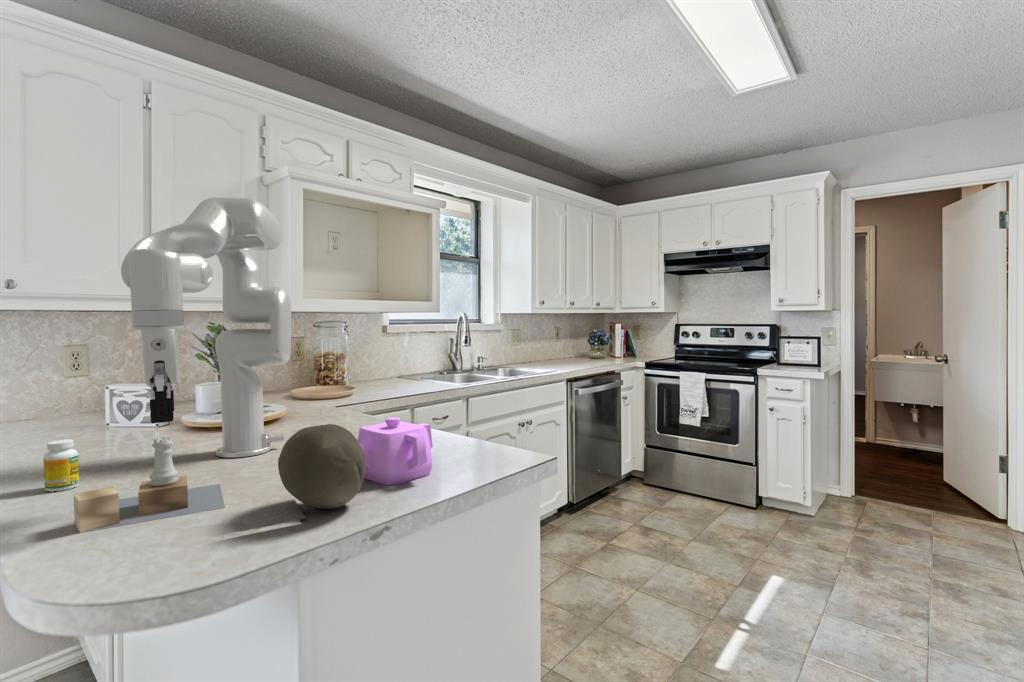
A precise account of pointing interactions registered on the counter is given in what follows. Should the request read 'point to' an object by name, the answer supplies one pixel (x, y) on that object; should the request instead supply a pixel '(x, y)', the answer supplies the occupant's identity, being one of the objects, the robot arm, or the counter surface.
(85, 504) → the oak block
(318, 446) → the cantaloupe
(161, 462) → the rook chess piece
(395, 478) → the teakettle
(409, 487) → the counter surface
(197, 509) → the slate mat
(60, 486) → the supplement bottle
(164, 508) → the wooden block
